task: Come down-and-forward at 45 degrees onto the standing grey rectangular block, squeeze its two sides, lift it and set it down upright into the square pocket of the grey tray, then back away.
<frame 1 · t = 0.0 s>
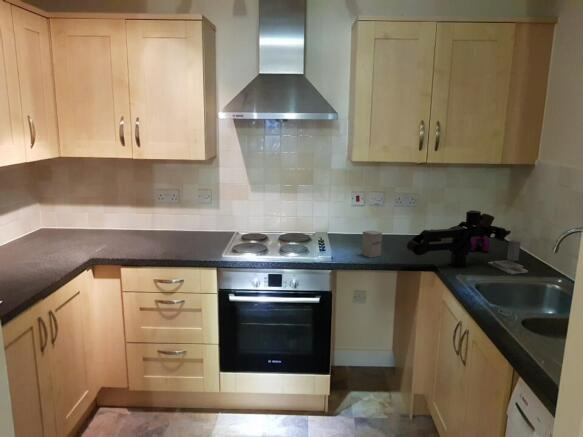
hand: (503, 229, 232), 17 cm above the worktop, tool horizontal, fingers open, 9 cm apart
mounting bracket: (475, 248, 261), on the worktop
grey rectangular block: (512, 259, 239), on the worktop
pinkish brown cylinder: (371, 255, 243), on the worktop
battery: (434, 247, 261), on the worktop
grey tray: (507, 268, 225), on the worktop
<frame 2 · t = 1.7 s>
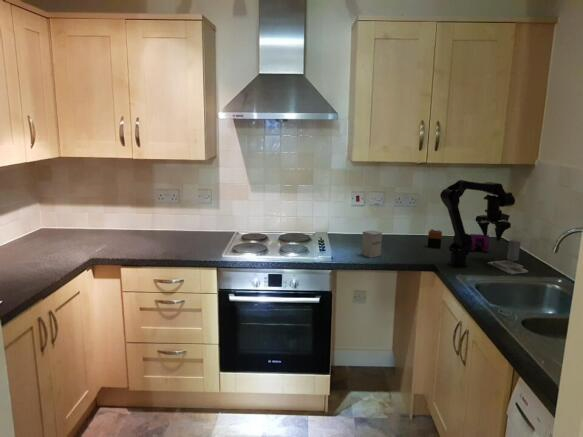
hand: (491, 238, 231), 12 cm above the worktop, tool pointing down, fingers open, 9 cm apart
nothing on the worktop moved.
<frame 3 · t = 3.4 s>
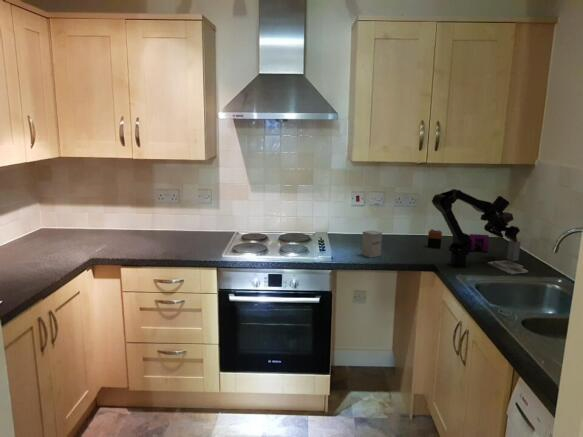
hand: (509, 239, 236), 11 cm above the worktop, tool tilted 45°, fingers open, 9 cm apart
nothing on the worktop moved.
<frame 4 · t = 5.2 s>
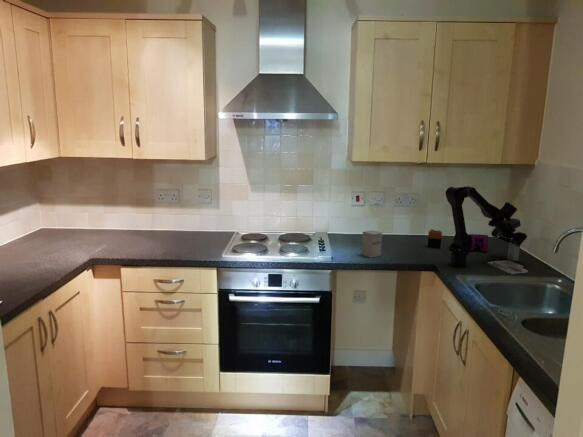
hand: (516, 245, 238), 8 cm above the worktop, tool tilted 45°, fingers closed on grey rectangular block, 4 cm apart
grey rectangular block: (512, 259, 239), on the worktop, touching gripper
everything else where it was.
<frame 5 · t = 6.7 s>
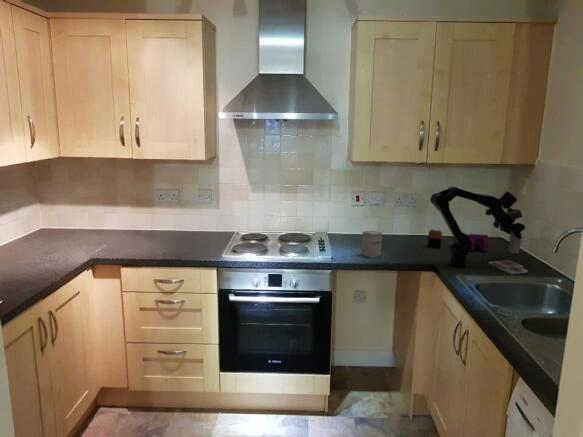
hand: (518, 237, 229), 14 cm above the worktop, tool tilted 45°, fingers closed on grey rectangular block, 4 cm apart
grey rectangular block: (513, 252, 231), point 6 cm above the worktop, touching gripper
everything else where it was.
when the fingers open (10 cm above the worktop, at t = 8.4 s): grey rectangular block drops 1 cm, resting on grey tray.
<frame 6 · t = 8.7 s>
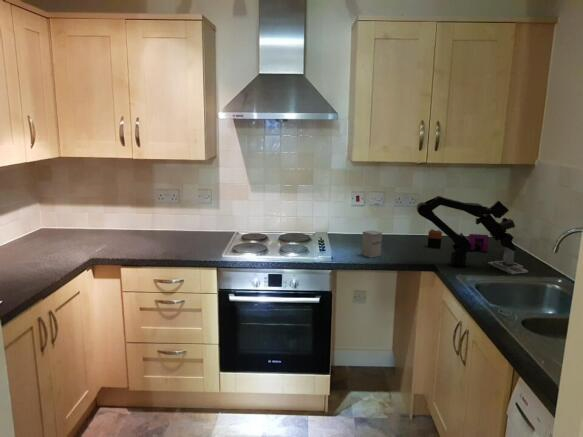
hand: (512, 248, 223), 10 cm above the worktop, tool tilted 45°, fingers open, 7 cm apart
grey rectangular block: (507, 266, 225), point 1 cm above the worktop, touching grey tray
everything else where it was.
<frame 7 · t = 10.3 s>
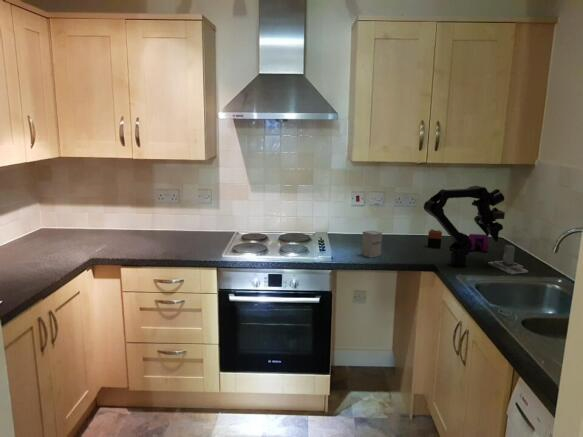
hand: (492, 237, 230), 13 cm above the worktop, tool tilted 25°, fingers open, 9 cm apart
nothing on the worktop moved.
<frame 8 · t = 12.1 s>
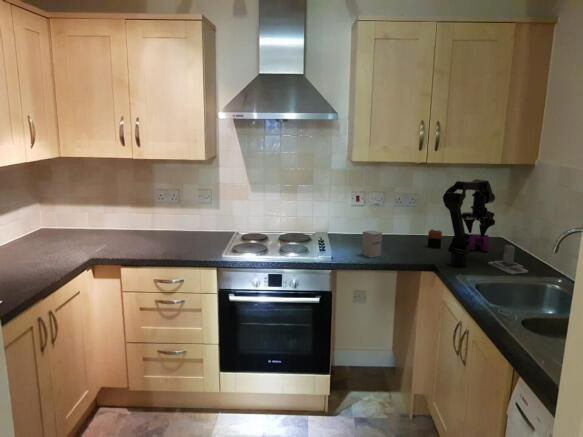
hand: (476, 235, 235), 13 cm above the worktop, tool pointing down, fingers open, 9 cm apart
nothing on the worktop moved.
at the end: grey rectangular block inside the target area on the grey tray (0.0 cm from its centre), point 1.0 cm above the grey tray's base; grey rectangular block tilted 0°; the gripper is holding nothing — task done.
